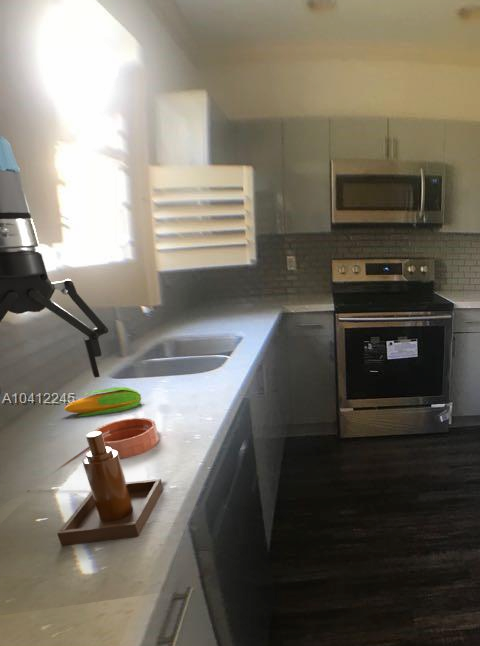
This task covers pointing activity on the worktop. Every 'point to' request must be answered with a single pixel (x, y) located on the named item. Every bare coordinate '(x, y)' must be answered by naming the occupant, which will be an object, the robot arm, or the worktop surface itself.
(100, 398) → the corn
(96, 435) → the bottle
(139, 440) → the bowl
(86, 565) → the worktop surface
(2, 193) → the robot arm
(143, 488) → the tray
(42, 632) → the worktop surface
